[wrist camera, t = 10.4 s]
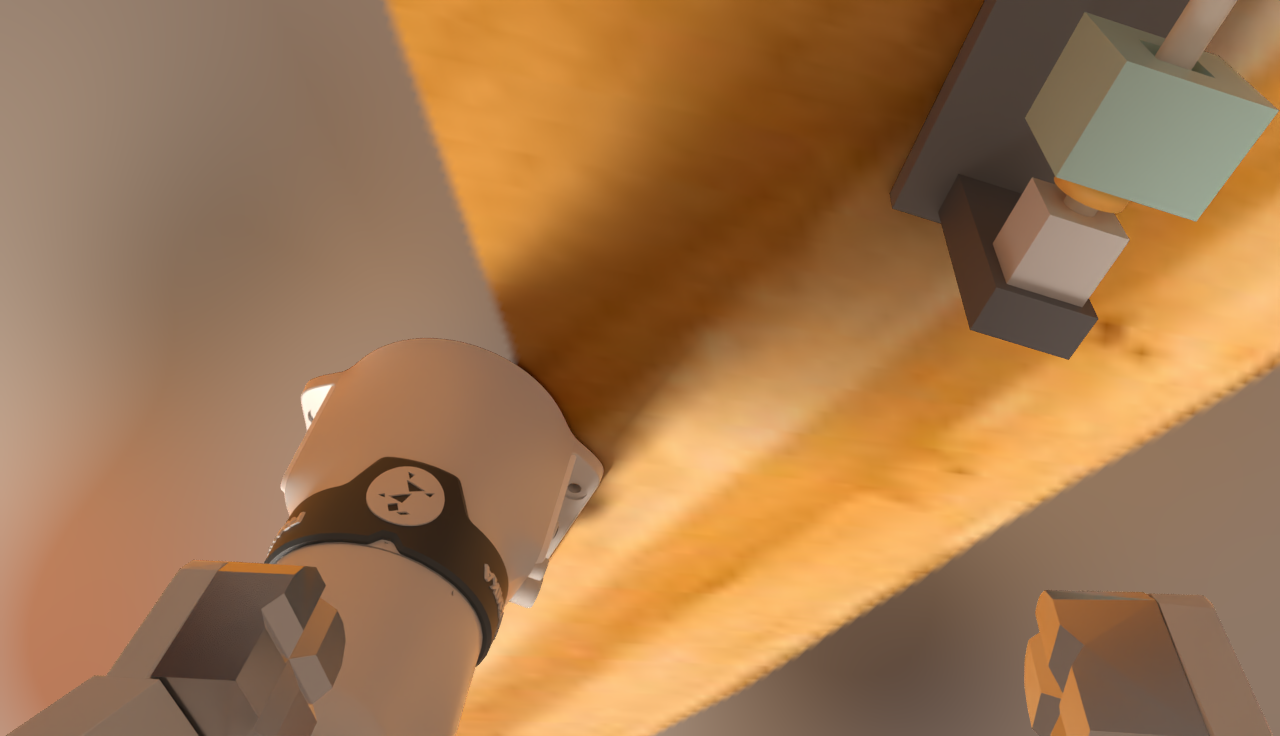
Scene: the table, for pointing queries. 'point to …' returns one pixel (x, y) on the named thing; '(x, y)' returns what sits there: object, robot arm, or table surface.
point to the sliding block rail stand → (1028, 169)
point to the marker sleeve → (1144, 119)
